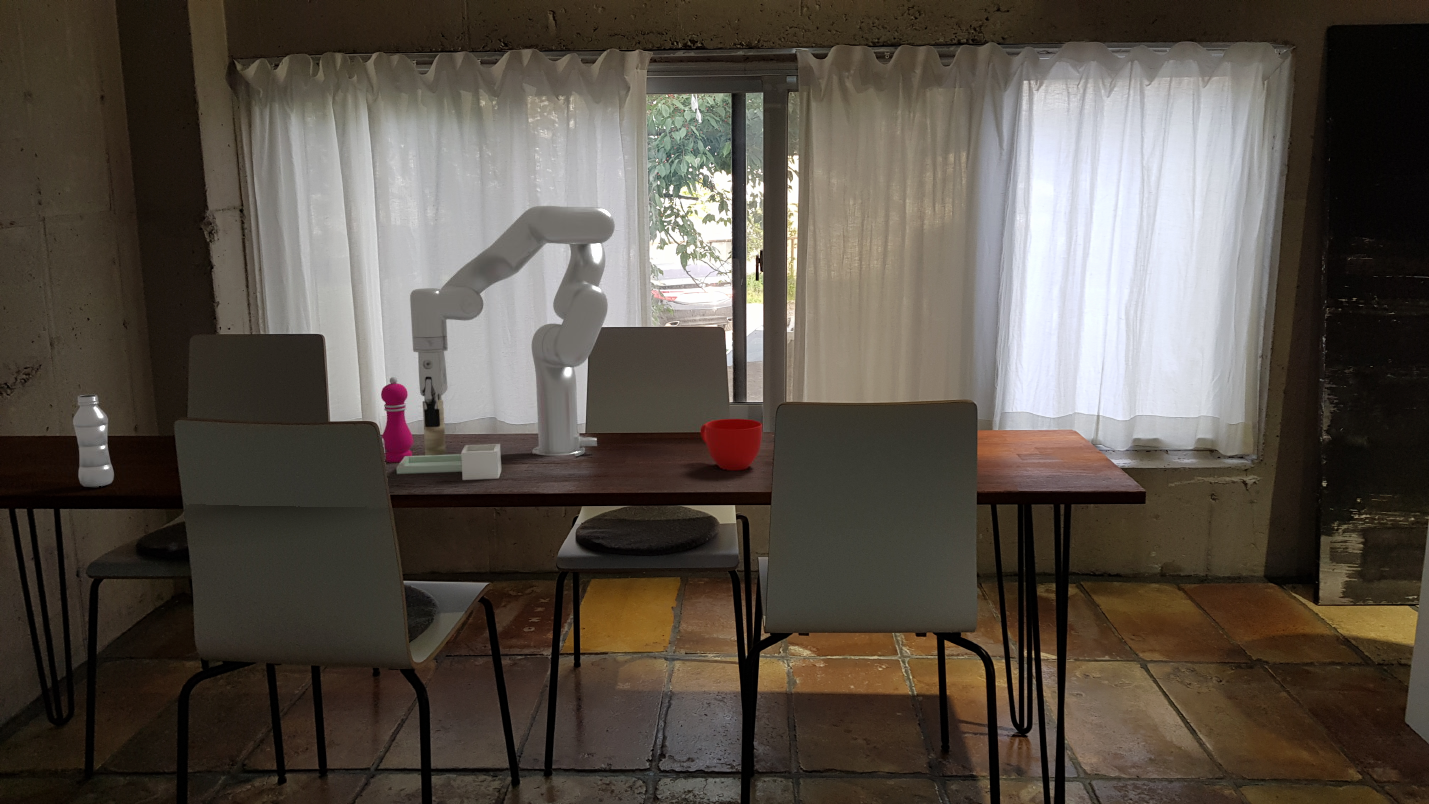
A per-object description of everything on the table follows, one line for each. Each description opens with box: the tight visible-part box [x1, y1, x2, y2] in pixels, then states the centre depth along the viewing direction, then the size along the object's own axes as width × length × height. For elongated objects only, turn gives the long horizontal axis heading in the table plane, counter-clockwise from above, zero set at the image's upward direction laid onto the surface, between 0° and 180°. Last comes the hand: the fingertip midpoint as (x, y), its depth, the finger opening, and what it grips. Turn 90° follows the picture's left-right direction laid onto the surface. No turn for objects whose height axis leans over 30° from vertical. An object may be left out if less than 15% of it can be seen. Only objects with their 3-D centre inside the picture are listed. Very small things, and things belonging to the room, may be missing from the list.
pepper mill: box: [380, 376, 414, 463], centre depth 249 cm, size 7×7×20 cm
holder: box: [460, 443, 502, 481], centre depth 230 cm, size 8×8×7 cm
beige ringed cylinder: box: [422, 399, 447, 456], centre depth 237 cm, size 4×4×12 cm
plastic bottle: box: [72, 394, 115, 488], centre depth 226 cm, size 6×7×20 cm
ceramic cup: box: [700, 418, 763, 471], centre depth 240 cm, size 13×17×10 cm
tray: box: [396, 453, 462, 475], centre depth 238 cm, size 16×11×2 cm
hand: (434, 423), depth 237 cm, fingers closed on beige ringed cylinder, 4 cm apart
